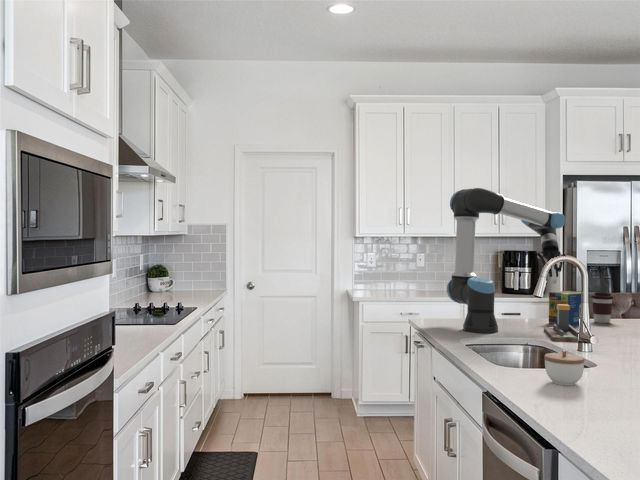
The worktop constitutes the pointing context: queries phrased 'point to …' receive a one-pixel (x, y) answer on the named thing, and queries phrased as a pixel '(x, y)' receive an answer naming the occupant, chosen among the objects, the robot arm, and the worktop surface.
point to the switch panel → (562, 334)
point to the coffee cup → (602, 306)
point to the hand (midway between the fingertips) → (554, 281)
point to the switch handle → (563, 316)
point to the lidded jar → (564, 368)
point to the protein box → (565, 298)
